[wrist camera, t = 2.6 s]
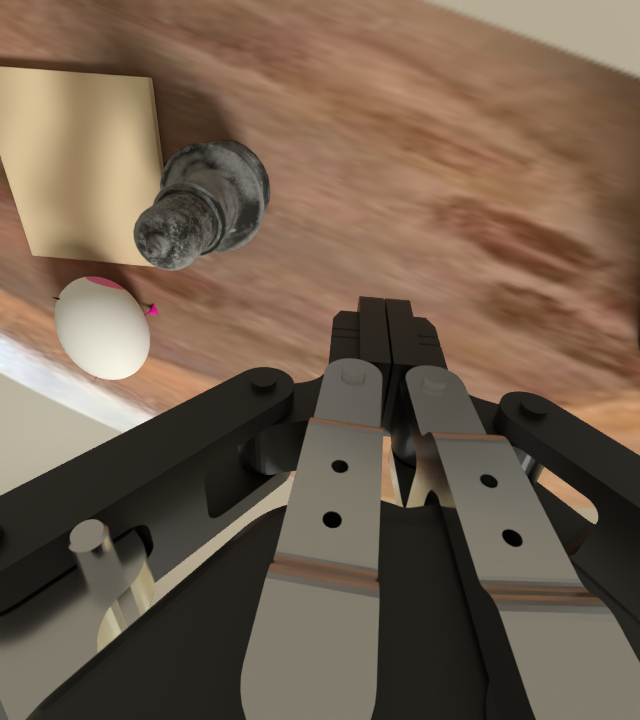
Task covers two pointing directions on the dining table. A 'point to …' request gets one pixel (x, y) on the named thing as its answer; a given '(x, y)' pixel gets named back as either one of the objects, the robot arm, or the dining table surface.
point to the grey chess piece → (203, 205)
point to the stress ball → (102, 327)
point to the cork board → (80, 160)
